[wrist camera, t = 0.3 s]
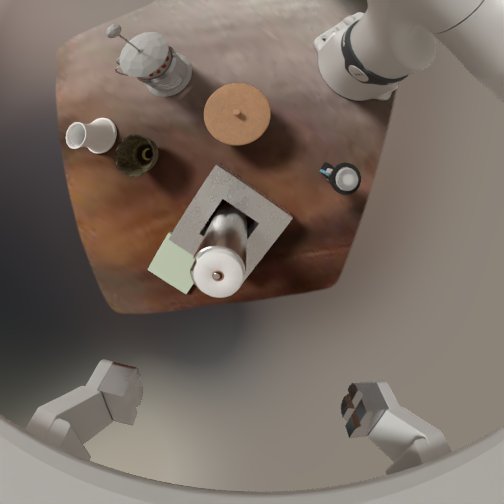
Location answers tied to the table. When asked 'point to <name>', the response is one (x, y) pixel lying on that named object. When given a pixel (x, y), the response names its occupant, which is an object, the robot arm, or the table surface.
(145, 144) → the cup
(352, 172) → the push button
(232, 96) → the lidded jar
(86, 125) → the vase
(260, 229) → the bore block
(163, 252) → the pad
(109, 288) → the table surface
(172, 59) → the french press
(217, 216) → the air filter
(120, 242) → the table surface
